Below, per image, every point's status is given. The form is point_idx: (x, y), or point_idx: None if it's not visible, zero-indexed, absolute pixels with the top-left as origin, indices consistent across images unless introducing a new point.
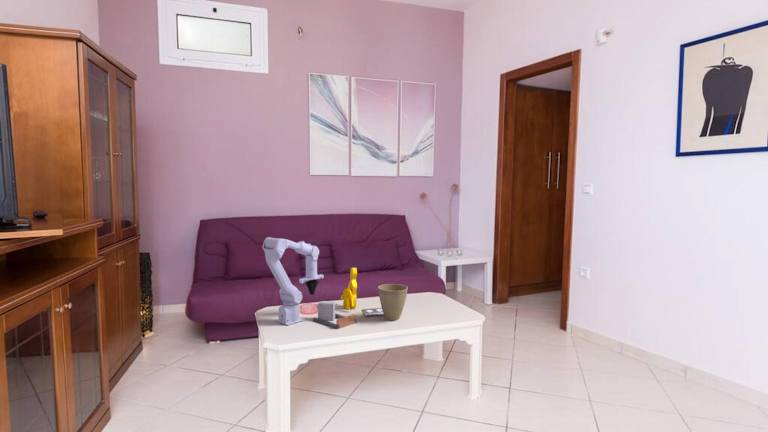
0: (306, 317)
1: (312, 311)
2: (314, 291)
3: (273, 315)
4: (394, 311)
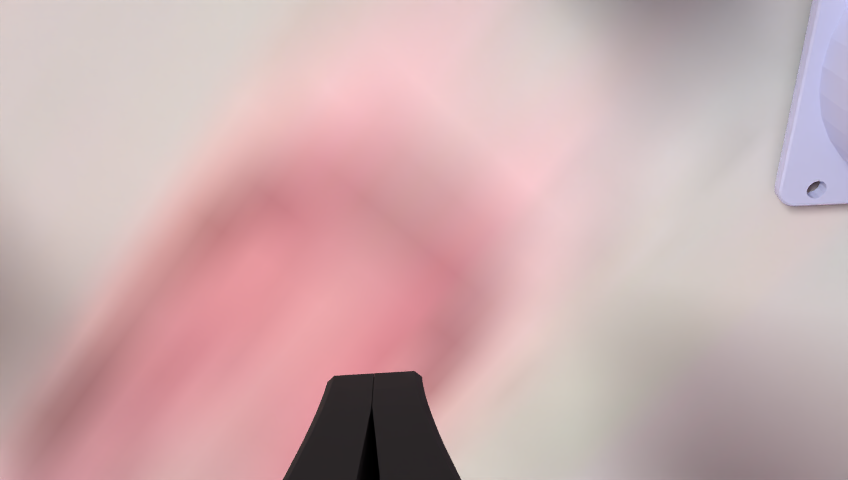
0: (601, 54)
1: (289, 267)
2: (326, 434)
3: (839, 460)
4: None
